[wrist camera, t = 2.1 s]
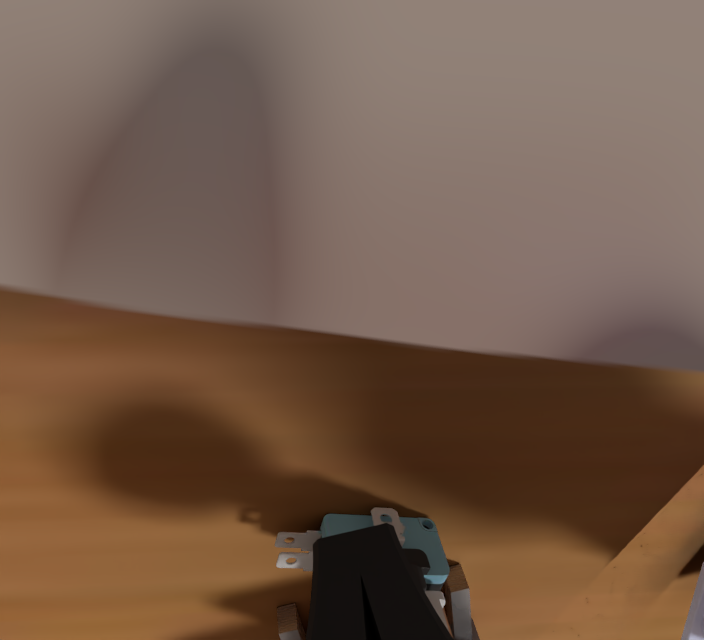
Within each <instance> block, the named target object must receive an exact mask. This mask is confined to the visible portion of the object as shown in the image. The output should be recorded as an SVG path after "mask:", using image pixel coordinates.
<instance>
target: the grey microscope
mask: <svg viewBox="0 0 704 640" xmlns="http://www.w3.org/2000/svg"><path fill="white" fill-rule="evenodd" d="M382 515H387V516H382ZM388 516H389V517H388ZM384 523H388V524H391V525H393V526H394V528H395V531H396V534H397V537H398V539H399V541H400V544H401V546H402V548H403V551H404V553H405V555H406V557H407V559H408V561H409V563H410V565H411V567H412V569H413V571H414V573H415V575H416V577H417V579H418V581H419V582H420V584H421V586H422V588H423V590H424V592H425V593H426V595H427V597H428V599H429V600H430V602H431V604H432V605H433V607H434V609H435V610H436V612H437V614H438V615H439V617H440V618H441V620H442V622H443V623H444V625H445V626H446V628H447V630H448V631H449V629H448V625H447V622H446V619H445V616H444V613H443V607H444V605H445V598H444V595H443V593H442V592H441V591H440V590H441V588H442V586H443V584H444V582H445V580H446V578H447V576H448V574H449V572H450V568H449V565H448V562H447V559H446V556H445V553H444V550H443V547H442V544H441V541H440V539H439V536H438V533H437V532H438V531H437V528H436V525H435V524H434V522H433V521H432V520H430V519H428V518H419V517H418V518H407V517H399V516H398V512H397V511H395V510H394V509H393V508H377V507H374V508H373V509H372V510H371V516H368V515H348V514H326V515H325V516H324V518H323V521H322V524H321V527H320V530H319V531H312V530H307V532H306V533H295V532H279V533H278V535H277V538H276V541H275V546H276V547H283V548H301V551H309V553H295V552H281V553H279V556H278V560H277V563H276V566H277V567H278V568H303V571H313V544H314V543H315V541H316V540H317V539H319V538H324V537H328V536H332V535H337V534H341V533H345V532H349V531H354V530H358V529H362V528H367V527H371V526H375V525H380V524H384ZM288 537H292V538H294V541H293V542H291V543H286V542H285V541H284V540H285V539H286V538H288ZM292 557H293V558H296V561H295V562H293V563H287V562H286V560H287V559H288V558H292ZM449 633H450V632H449Z"/></svg>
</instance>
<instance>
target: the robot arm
mask: <svg viewBox="0 0 704 640" xmlns="http://www.w3.org/2000/svg"><path fill="white" fill-rule="evenodd" d="M306 640H454V639H453V637H452V636H451V634H450V633H449V631H448V630H447V628H446V626H445V625H444V623H443V622H442V620H441V618H440V617H439V615H438V614H437V612H436V610H435V609H434V607H433V605H432V604H431V602H430V600H429V599H428V597H427V595H426V593H425V592H424V590H423V588H422V586H421V584H420V582H419V581H418V579H417V577H416V575H415V573H414V571H413V569H412V567H411V565H410V563H409V561H408V559H407V557H406V555H405V553H404V551H403V548H402V546H401V544H400V541H399V539H398V537H397V534H396V531H395V528H394V526H393V525H391V524H388V523H384V524H380V525H375V526H371V527H367V528H362V529H358V530H354V531H349V532H345V533H341V534H337V535H332V536H328V537H324V538H319V539H317V540H316V541H315V543H314V544H313V576H312V591H311V601H310V610H309V619H308V627H307V634H306ZM681 640H704V562H703V564H702V568H701V571H700V575H699V578H698V582H697V585H696V589H695V592H694V596H693V599H692V603H691V606H690V610H689V613H688V617H687V620H686V624H685V627H684V631H683V634H682V638H681Z"/></svg>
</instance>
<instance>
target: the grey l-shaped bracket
mask: <svg viewBox="0 0 704 640" xmlns="http://www.w3.org/2000/svg"><path fill="white" fill-rule="evenodd" d="M449 568H450V572H449V574H448V576H447V578H446V580H445V582H444V586H445V596H446V606H447V617H448V623H449V626H450V630H451V633H452V636H453V639H454V640H480V639H479V636H478V633H477V631H476V628H475V625H474V622H473V619H471V610H470V594H469V586H468V584H467V581H466V578H465V575H464V573H463V570H462V567H461V564H458V565H454V566H450V567H449ZM277 617H278V633H279V636H280V639H281V640H306V635H305V632H304V629H303V626H302V623H301V620H300V617H299V614H298V611H297V608H296V605H295V603H294V604H290V605H285V606H281V607H277Z"/></svg>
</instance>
